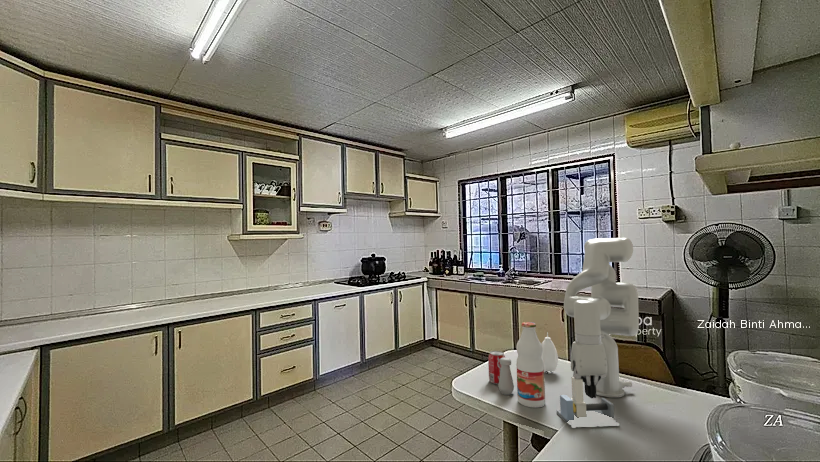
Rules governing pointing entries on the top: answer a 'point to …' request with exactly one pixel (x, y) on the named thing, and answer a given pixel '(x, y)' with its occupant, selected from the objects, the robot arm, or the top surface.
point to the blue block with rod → (569, 408)
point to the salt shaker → (505, 377)
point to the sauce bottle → (549, 355)
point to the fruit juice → (530, 368)
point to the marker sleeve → (578, 397)
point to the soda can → (495, 366)
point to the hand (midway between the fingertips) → (590, 396)
